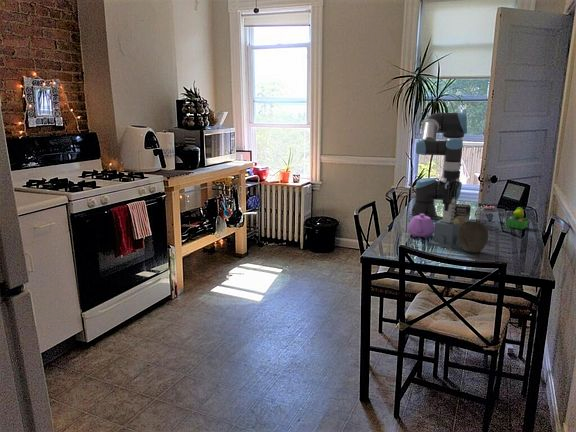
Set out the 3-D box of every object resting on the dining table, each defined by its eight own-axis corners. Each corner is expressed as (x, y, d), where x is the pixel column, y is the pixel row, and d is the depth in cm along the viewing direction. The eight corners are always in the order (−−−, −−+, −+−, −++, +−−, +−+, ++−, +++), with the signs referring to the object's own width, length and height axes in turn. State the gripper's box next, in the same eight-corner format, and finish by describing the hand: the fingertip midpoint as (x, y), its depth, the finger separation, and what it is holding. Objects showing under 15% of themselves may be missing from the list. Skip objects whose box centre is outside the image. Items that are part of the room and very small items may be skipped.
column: (441, 237, 235) (444, 196, 229) (444, 235, 238) (447, 195, 232) (450, 238, 232) (453, 198, 226) (453, 237, 235) (457, 196, 229)
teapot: (432, 242, 235) (434, 220, 232) (404, 240, 240) (405, 217, 237) (435, 232, 254) (437, 211, 250) (409, 230, 259) (410, 209, 255)
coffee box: (449, 234, 249) (452, 206, 245) (450, 231, 255) (452, 203, 251) (468, 236, 246) (470, 207, 242) (467, 233, 252) (470, 204, 248)
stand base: (428, 244, 234) (430, 219, 230) (441, 237, 245) (442, 213, 242) (451, 248, 226) (453, 223, 223) (463, 241, 238) (465, 217, 234)
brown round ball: (492, 256, 215) (496, 225, 212) (463, 257, 214) (466, 226, 211) (478, 246, 229) (481, 217, 225) (450, 247, 228) (453, 218, 224)
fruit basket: (503, 226, 264) (505, 207, 262) (508, 223, 271) (510, 205, 268) (524, 230, 257) (527, 210, 254) (529, 227, 263) (532, 208, 260)
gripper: (452, 172, 218) (448, 220, 223) (466, 168, 230) (462, 213, 236) (437, 171, 222) (434, 218, 228) (451, 167, 235) (447, 211, 241)
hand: (448, 215), depth 232 cm, fingers closed on column, 4 cm apart
